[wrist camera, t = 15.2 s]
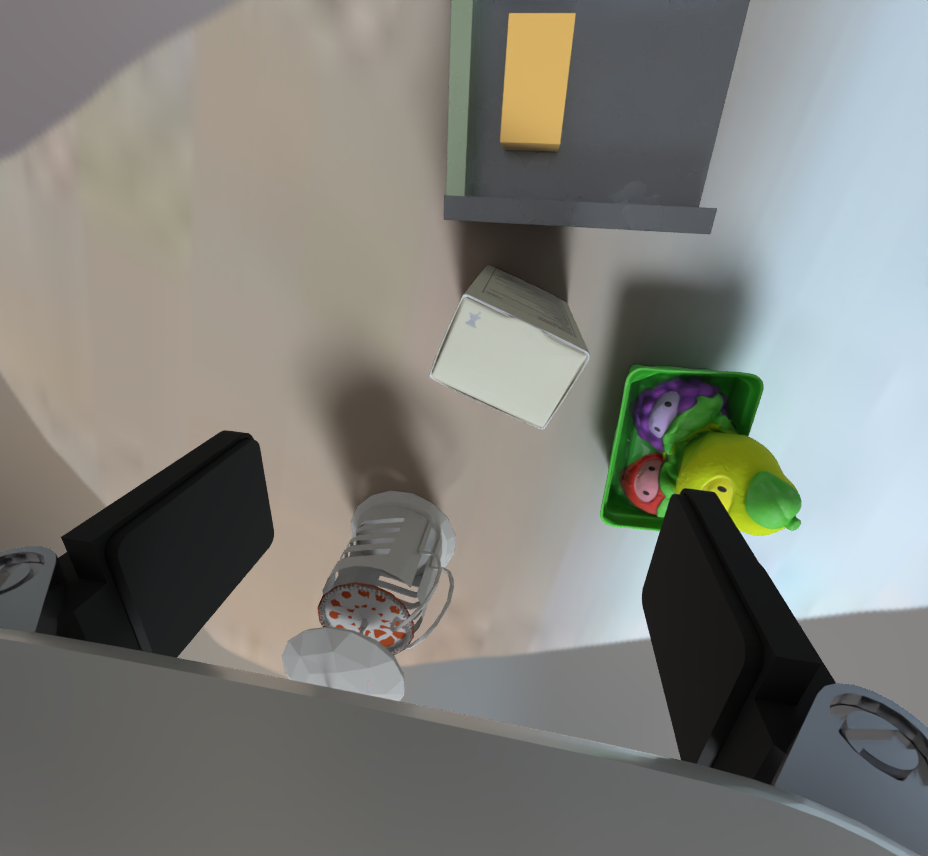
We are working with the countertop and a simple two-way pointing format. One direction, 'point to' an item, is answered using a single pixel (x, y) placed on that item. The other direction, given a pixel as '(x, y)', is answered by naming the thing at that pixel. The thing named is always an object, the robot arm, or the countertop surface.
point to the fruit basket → (694, 451)
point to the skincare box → (511, 348)
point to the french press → (375, 598)
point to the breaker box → (595, 115)
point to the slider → (536, 80)
